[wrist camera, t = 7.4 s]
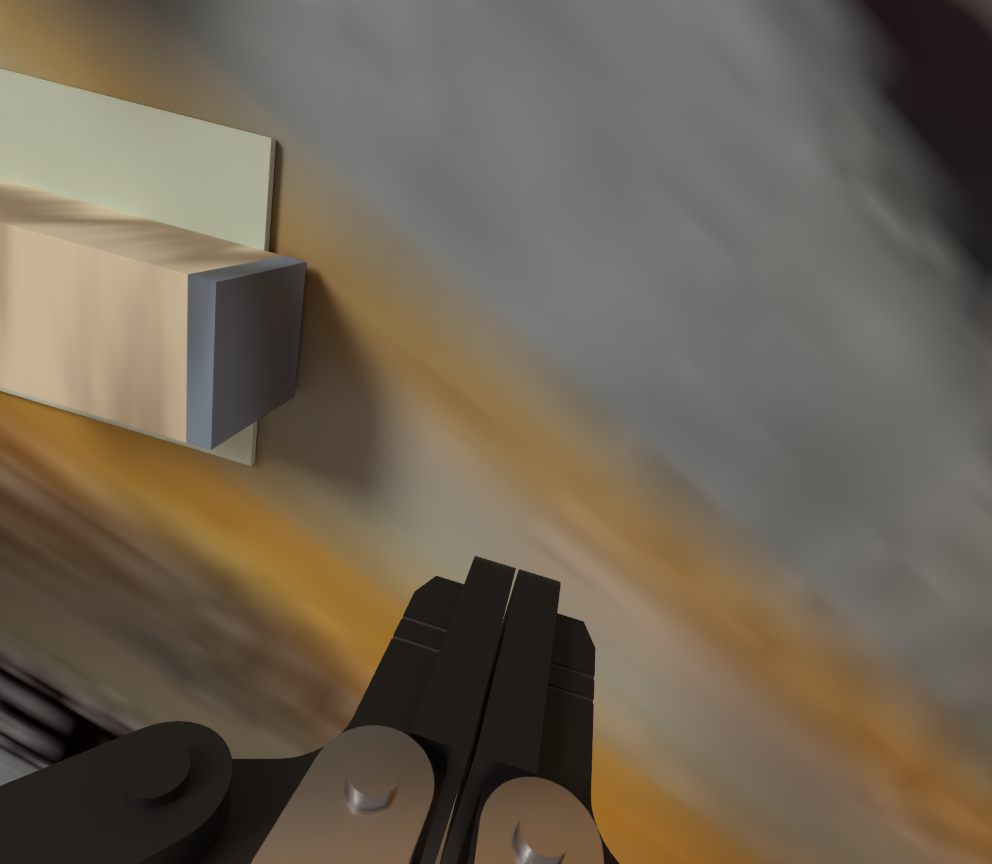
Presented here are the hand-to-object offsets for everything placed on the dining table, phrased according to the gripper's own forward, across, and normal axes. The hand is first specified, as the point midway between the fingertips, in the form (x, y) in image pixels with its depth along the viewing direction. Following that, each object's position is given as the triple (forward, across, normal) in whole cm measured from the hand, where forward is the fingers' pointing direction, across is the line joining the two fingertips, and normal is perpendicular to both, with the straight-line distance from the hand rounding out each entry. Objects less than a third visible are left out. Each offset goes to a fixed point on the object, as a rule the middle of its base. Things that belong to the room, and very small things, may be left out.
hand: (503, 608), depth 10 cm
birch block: (+8, +9, 0) cm, 13 cm away
